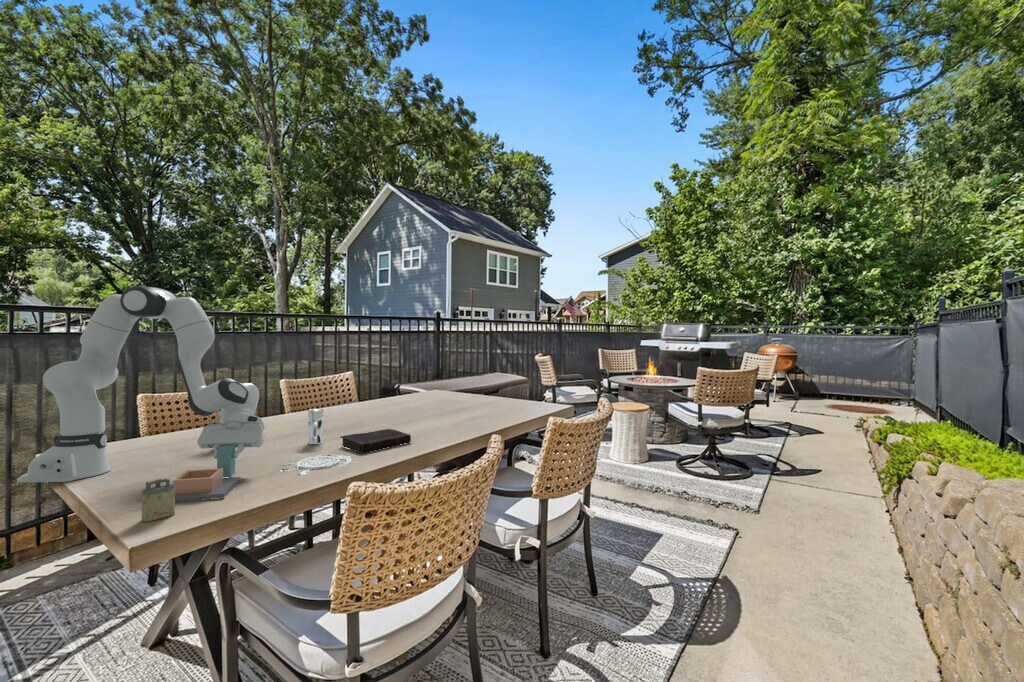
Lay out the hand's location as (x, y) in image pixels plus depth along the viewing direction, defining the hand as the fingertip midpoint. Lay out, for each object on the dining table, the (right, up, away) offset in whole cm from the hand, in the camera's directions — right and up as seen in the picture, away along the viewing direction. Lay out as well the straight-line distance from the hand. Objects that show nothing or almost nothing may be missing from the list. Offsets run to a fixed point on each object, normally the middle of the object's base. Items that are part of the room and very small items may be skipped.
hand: (225, 457), depth 152 cm
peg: (0, -7, +1) cm, 7 cm away
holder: (+1, -7, -14) cm, 16 cm away
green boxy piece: (+4, -7, -33) cm, 35 cm away
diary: (+37, -7, +47) cm, 60 cm away
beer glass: (+10, -6, +48) cm, 49 cm away
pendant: (+24, -8, +18) cm, 31 cm away
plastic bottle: (-25, -6, +39) cm, 47 cm away
